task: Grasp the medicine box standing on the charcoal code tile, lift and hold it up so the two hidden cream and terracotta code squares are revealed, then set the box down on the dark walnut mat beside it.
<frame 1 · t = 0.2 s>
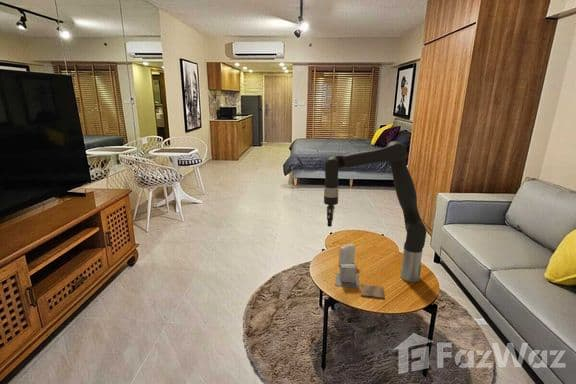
hand: (330, 223, 169), 28 cm above the table, fingers open, 8 cm apart
walnut mat: (372, 292, 156), on the table
medicine box: (347, 280, 166), resting on code tile
photo printer: (346, 264, 183), on the table
code tile: (347, 280, 166), on the table
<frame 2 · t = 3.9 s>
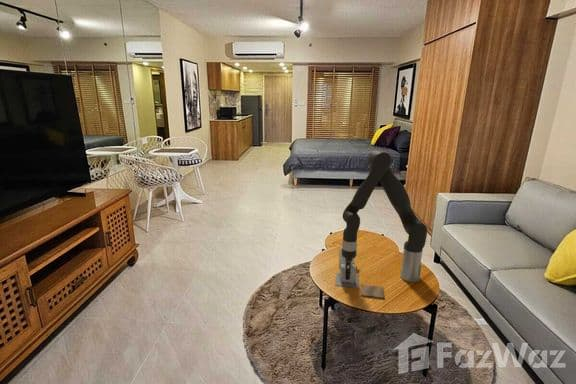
hand: (347, 276, 165), 3 cm above the table, fingers closed on medicine box, 5 cm apart
medicine box: (347, 280, 166), resting on code tile, touching gripper
everything else where it was.
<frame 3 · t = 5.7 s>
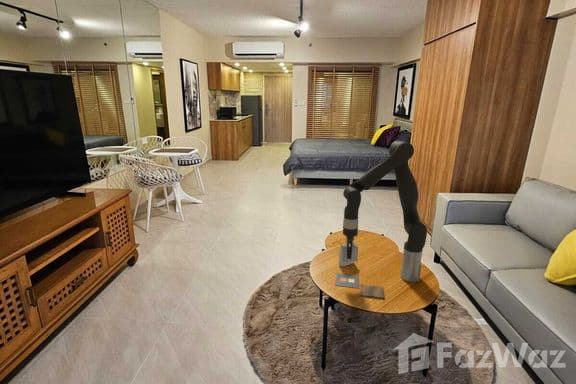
hand: (349, 255, 162), 15 cm above the table, fingers closed on medicine box, 5 cm apart
medicine box: (348, 260, 162), point 12 cm above the table, touching gripper
everything else where it was.
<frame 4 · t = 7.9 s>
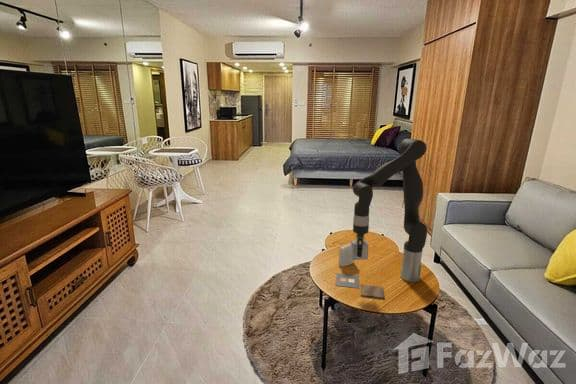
hand: (359, 253, 157), 18 cm above the table, fingers closed on medicine box, 5 cm apart
medicine box: (359, 258, 158), point 15 cm above the table, touching gripper
everything else where it was.
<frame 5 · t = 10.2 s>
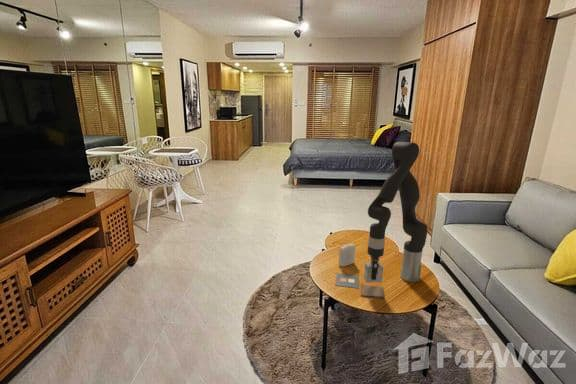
hand: (373, 276, 153), 9 cm above the table, fingers closed on medicine box, 5 cm apart
medicine box: (372, 280, 154), point 7 cm above the table, touching gripper
everything else where it was.
when the fingers open (4 cm above the table, at t = 12.0 s): medicine box stays where it is, resting on walnut mat.
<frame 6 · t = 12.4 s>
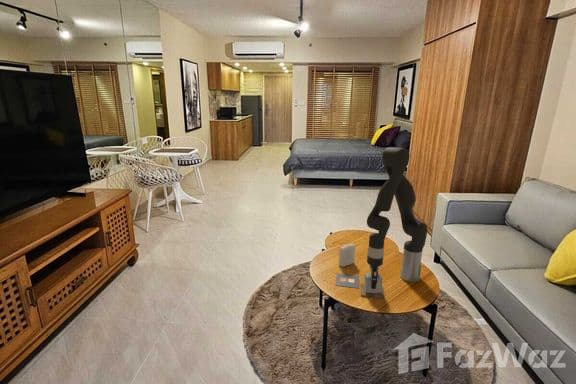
hand: (372, 283, 154), 5 cm above the table, fingers open, 8 cm apart
medicine box: (372, 291, 155), point 1 cm above the table, touching walnut mat
everything else where it was.
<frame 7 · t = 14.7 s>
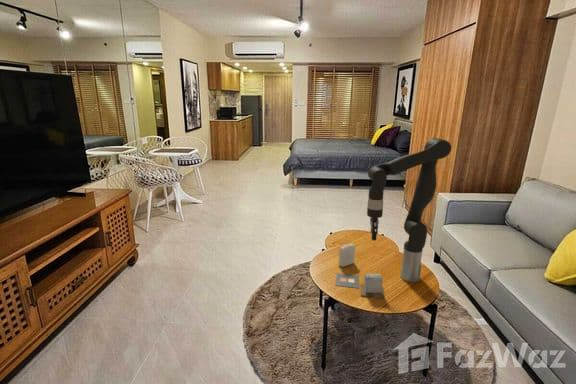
hand: (373, 236, 160), 25 cm above the table, fingers open, 8 cm apart
nothing on the table moved.
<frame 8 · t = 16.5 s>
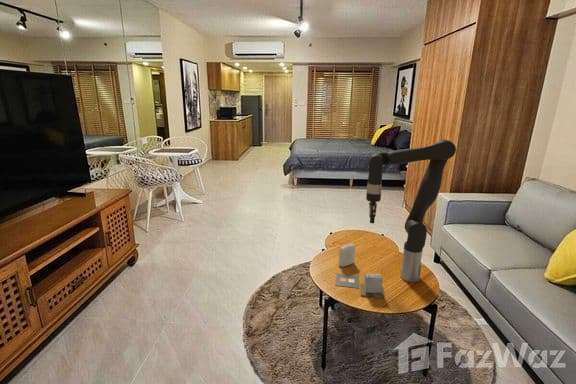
hand: (371, 220, 168), 30 cm above the table, fingers open, 8 cm apart
nothing on the table moved.
at the end: medicine box 0.1 cm off-centre on the walnut mat, point 0.6 cm above the walnut mat's base; medicine box tilted 0°; the gripper is holding nothing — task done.
